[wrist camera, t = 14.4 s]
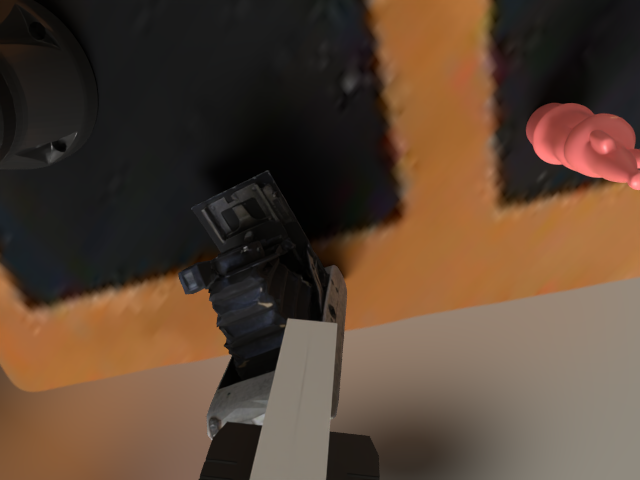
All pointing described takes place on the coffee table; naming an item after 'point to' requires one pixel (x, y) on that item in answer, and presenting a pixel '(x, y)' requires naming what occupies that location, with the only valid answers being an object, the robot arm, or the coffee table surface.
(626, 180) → the figurine
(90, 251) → the coffee table surface
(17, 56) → the robot arm
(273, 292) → the vintage camera
